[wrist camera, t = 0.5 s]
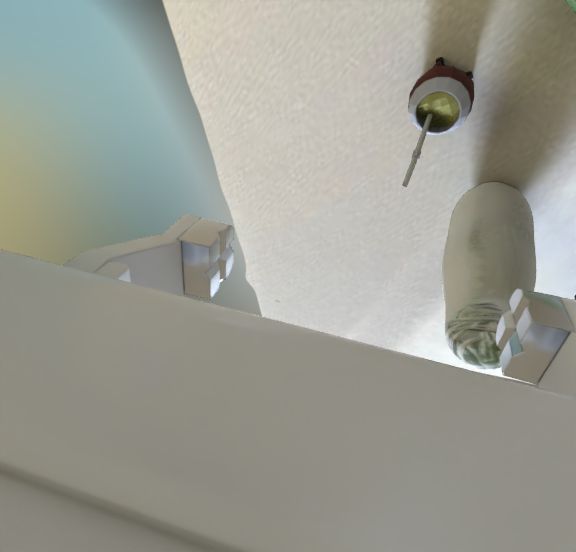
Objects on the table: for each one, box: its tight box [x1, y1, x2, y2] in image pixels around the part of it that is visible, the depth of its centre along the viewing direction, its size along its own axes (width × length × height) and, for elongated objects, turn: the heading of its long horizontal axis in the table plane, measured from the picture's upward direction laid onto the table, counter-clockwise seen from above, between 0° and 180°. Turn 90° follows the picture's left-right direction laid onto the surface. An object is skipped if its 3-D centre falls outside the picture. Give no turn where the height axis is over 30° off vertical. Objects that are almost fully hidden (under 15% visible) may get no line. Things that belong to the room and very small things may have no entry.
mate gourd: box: [402, 57, 474, 187], centre depth 47 cm, size 8×8×15 cm
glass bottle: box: [441, 182, 536, 369], centre depth 52 cm, size 10×10×28 cm
